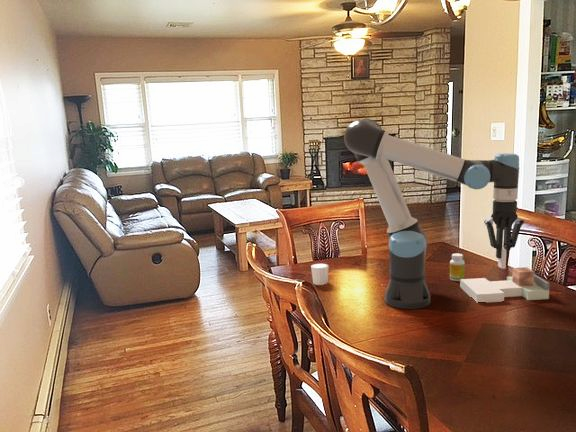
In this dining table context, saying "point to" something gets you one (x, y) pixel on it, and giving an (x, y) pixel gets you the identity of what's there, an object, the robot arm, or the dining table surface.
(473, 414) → the dining table surface
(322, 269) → the white cup
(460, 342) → the dining table surface
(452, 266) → the supplement bottle
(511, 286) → the board
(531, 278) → the block
